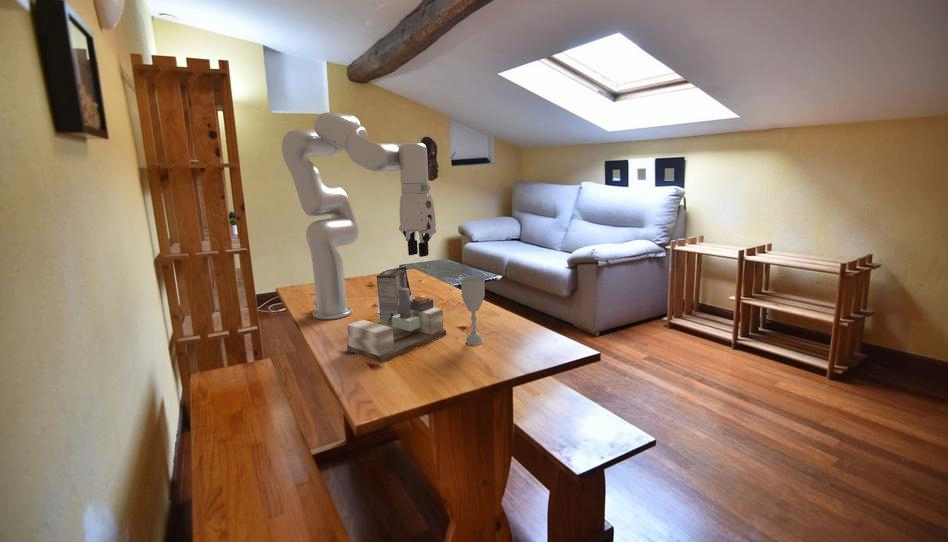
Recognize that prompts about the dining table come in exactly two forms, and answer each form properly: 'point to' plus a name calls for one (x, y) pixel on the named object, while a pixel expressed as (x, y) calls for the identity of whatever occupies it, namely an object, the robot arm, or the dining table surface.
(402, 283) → the coffee box
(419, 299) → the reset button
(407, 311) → the carriage
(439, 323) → the rail bed
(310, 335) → the dining table surface
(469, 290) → the chalice
